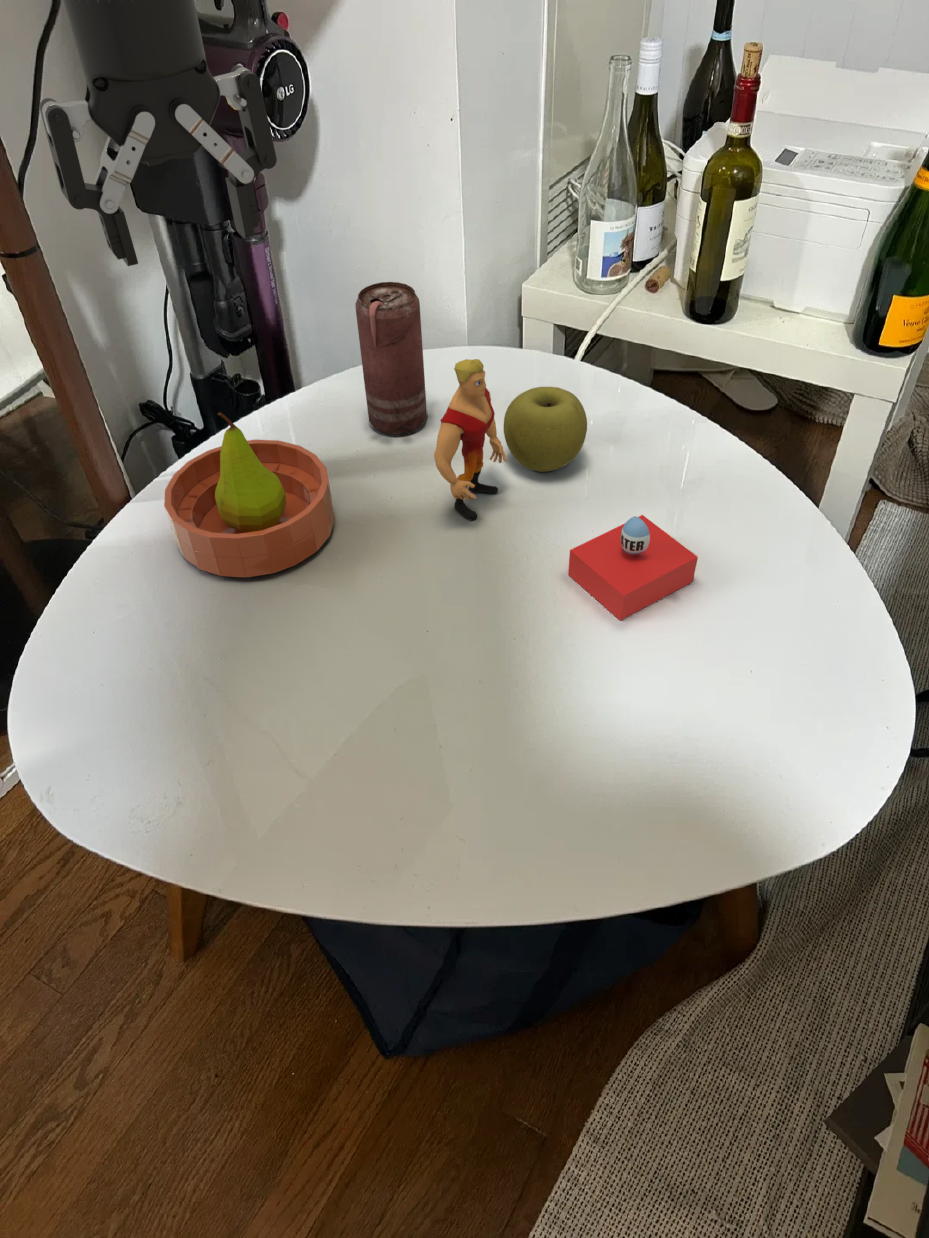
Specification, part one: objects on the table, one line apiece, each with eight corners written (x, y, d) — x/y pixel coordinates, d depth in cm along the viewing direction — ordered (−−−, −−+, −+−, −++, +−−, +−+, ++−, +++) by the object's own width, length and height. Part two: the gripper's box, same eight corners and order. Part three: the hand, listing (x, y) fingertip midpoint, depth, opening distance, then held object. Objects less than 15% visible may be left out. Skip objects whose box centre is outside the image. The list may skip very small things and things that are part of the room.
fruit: (305, 525, 84) (283, 411, 75) (248, 557, 81) (218, 442, 72) (265, 495, 87) (239, 382, 79) (208, 524, 84) (176, 411, 76)
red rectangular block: (620, 620, 75) (627, 562, 70) (568, 574, 79) (572, 517, 75) (692, 581, 78) (704, 523, 73) (639, 539, 82) (646, 481, 78)
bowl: (207, 603, 78) (194, 559, 74) (159, 514, 87) (144, 470, 83) (360, 546, 82) (354, 501, 79) (299, 466, 91) (291, 423, 88)
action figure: (468, 537, 83) (463, 390, 72) (433, 526, 84) (423, 380, 74) (513, 480, 89) (515, 336, 78) (480, 470, 90) (477, 327, 79)
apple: (574, 491, 87) (579, 427, 82) (493, 477, 89) (493, 413, 84) (591, 446, 92) (597, 383, 87) (514, 434, 94) (515, 372, 89)
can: (360, 435, 95) (344, 307, 85) (379, 402, 99) (365, 276, 89) (417, 442, 94) (407, 312, 84) (433, 408, 98) (426, 281, 88)
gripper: (12, 6, 50) (103, 292, 61) (260, -29, 55) (301, 243, 66) (-13, -18, 54) (77, 252, 66) (218, -49, 59) (264, 209, 71)
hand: (189, 247), depth 66 cm, fingers open, 8 cm apart
